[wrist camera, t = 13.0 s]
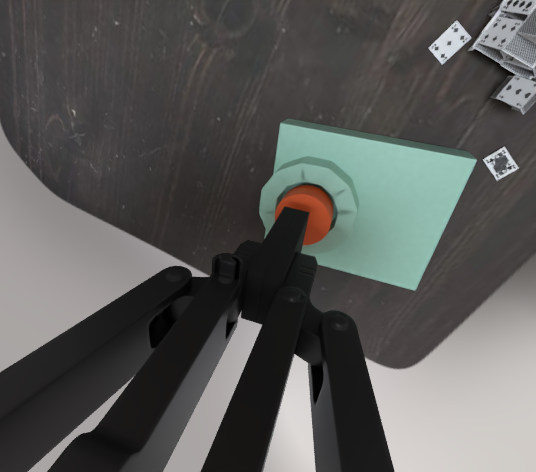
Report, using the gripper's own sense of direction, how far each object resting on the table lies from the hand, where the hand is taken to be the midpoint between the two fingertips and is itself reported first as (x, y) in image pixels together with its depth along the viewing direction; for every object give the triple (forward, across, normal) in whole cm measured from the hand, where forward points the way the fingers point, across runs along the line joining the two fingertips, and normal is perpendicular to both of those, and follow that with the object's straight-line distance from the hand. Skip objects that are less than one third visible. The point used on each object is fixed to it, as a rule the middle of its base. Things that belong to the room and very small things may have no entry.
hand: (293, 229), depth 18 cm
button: (+3, 0, 0) cm, 3 cm away
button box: (+7, +3, 0) cm, 8 cm away
